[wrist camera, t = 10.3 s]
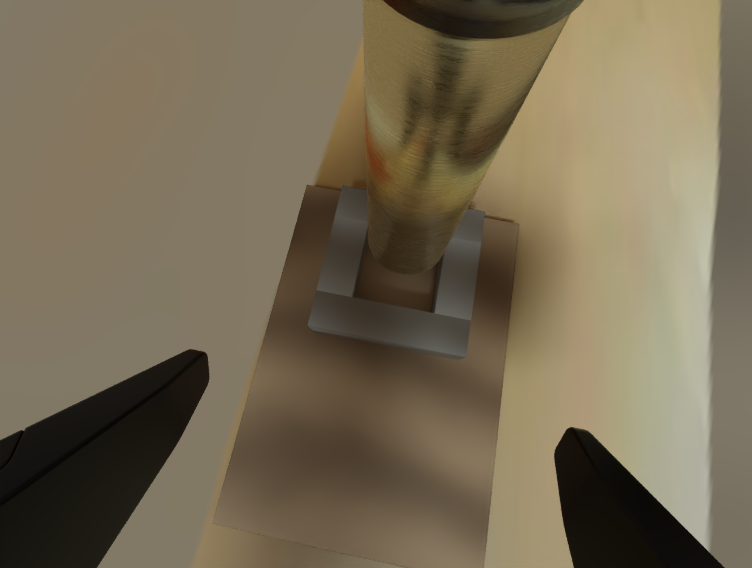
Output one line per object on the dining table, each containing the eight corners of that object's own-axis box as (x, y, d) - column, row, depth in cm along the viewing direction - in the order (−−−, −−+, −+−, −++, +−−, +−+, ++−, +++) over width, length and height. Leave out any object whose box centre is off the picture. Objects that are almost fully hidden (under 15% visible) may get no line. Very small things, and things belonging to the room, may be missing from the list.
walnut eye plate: (476, 575, 20) (494, 607, 17) (219, 517, 20) (194, 538, 17) (513, 230, 25) (532, 209, 22) (309, 192, 26) (301, 167, 23)
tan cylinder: (442, 284, 17) (643, -15, 4) (357, 268, 17) (322, -65, 4) (454, 207, 18) (644, -211, 5) (374, 192, 18) (382, -246, 6)
